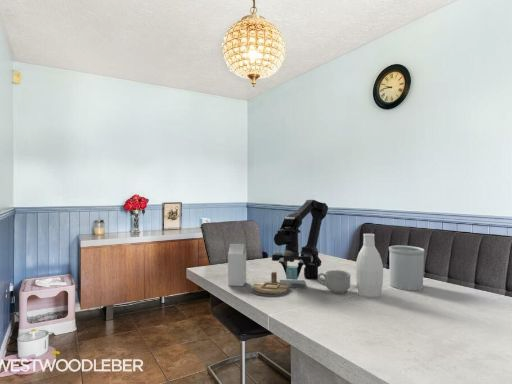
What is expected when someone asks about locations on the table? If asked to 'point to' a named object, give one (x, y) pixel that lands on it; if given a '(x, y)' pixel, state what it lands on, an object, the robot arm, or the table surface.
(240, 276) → the milk carton
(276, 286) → the turntable
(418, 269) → the utensil holder
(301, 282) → the mat
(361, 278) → the bottle
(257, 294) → the turntable base
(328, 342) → the table surface
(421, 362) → the table surface
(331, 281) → the teacup
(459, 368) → the table surface
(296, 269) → the blue cube with post
